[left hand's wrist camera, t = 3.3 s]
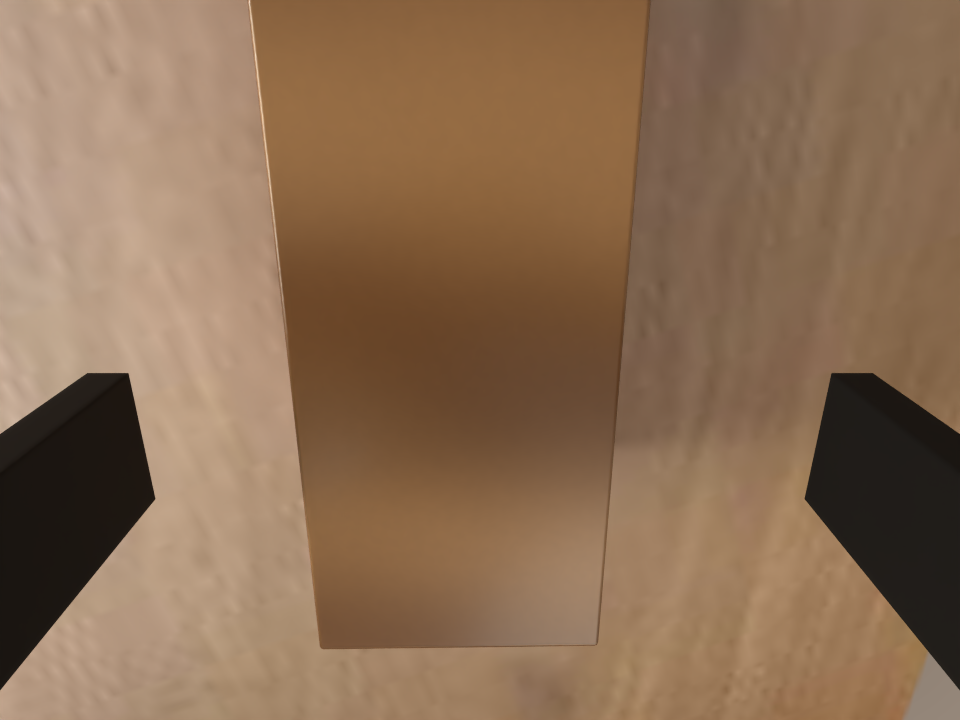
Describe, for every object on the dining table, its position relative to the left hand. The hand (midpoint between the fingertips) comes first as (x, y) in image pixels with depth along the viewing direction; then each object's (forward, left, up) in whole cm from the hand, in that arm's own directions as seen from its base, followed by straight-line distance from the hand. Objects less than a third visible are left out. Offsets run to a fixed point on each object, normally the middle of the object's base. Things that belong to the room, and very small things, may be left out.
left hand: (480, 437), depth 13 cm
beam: (+24, +5, -8) cm, 25 cm away
